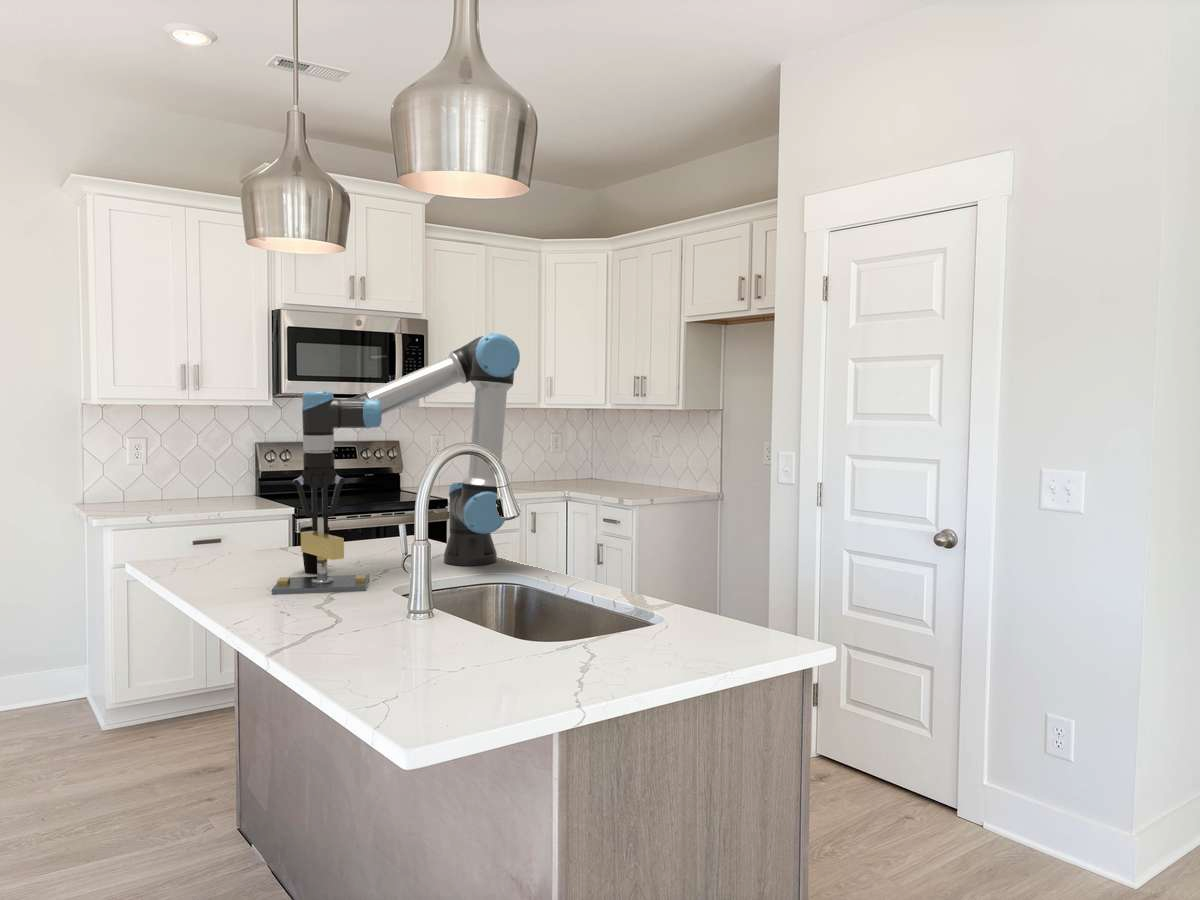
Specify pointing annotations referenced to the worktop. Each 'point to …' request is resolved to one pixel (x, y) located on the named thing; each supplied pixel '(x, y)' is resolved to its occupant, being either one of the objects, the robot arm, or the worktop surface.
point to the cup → (310, 555)
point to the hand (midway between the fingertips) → (320, 543)
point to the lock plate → (321, 583)
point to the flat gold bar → (322, 545)
